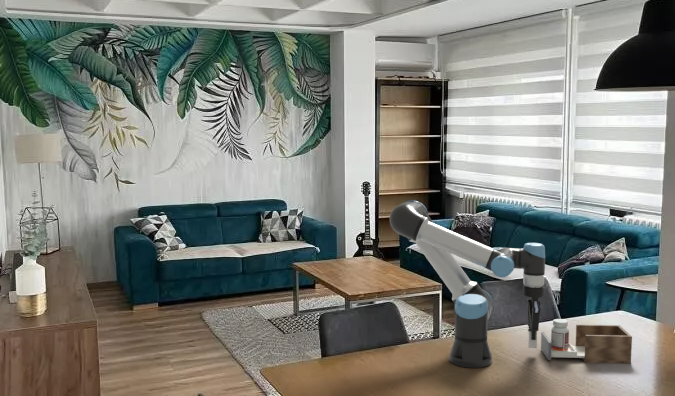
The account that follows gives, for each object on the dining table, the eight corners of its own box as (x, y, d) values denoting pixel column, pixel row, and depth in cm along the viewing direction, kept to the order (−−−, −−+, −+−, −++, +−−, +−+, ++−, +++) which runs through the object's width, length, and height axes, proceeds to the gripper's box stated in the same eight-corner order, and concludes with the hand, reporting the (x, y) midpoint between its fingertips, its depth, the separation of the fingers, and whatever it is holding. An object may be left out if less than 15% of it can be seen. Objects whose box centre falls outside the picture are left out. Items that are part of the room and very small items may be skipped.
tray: (548, 360, 259) (548, 342, 258) (540, 348, 272) (541, 331, 271) (592, 361, 258) (593, 343, 257) (583, 349, 271) (583, 332, 270)
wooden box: (585, 362, 258) (586, 335, 256) (575, 350, 271) (576, 324, 270) (630, 363, 256) (632, 336, 255) (618, 351, 270) (619, 325, 269)
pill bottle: (563, 347, 268) (564, 318, 267) (571, 352, 262) (572, 322, 261) (548, 348, 267) (549, 318, 266) (555, 353, 261) (556, 323, 260)
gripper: (548, 289, 256) (546, 353, 259) (540, 281, 269) (539, 342, 272) (526, 289, 257) (525, 353, 259) (520, 281, 270) (519, 341, 272)
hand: (532, 347), depth 265 cm, fingers closed
